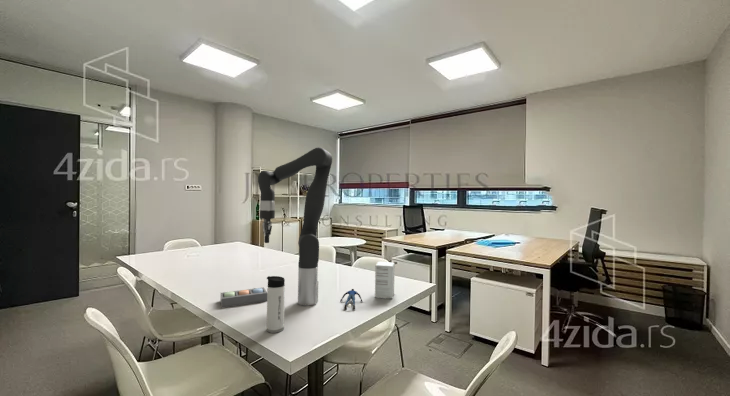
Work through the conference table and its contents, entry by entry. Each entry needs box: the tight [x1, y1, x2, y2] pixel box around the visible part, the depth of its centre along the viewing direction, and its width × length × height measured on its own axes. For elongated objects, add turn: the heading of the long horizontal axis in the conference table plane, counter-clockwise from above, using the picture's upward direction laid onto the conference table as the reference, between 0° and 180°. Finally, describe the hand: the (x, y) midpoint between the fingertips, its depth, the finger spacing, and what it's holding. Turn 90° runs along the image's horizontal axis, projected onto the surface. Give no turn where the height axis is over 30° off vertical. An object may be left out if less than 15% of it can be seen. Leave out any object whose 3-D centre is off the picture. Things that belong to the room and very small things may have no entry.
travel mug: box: [266, 275, 286, 334], centre depth 111 cm, size 6×7×20 cm
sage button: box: [224, 291, 235, 297], centre depth 138 cm, size 5×5×4 cm
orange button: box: [238, 289, 249, 295], centre depth 141 cm, size 5×5×4 cm
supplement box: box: [374, 261, 396, 299], centre depth 153 cm, size 10×9×17 cm
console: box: [219, 287, 267, 309], centre depth 141 cm, size 20×10×4 cm, turn 119°
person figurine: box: [340, 288, 363, 311], centre depth 140 cm, size 11×4×18 cm
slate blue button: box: [252, 287, 263, 293], centre depth 144 cm, size 5×5×4 cm
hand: (266, 242), depth 151 cm, fingers closed
